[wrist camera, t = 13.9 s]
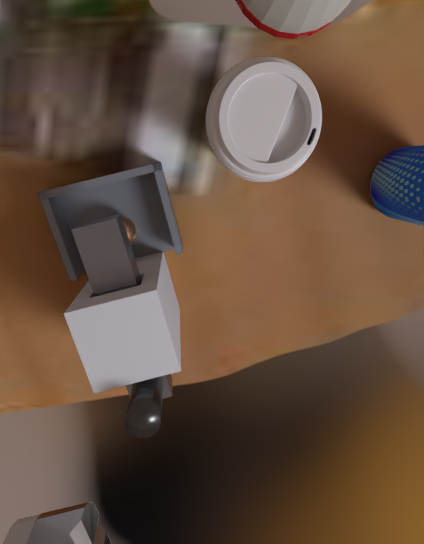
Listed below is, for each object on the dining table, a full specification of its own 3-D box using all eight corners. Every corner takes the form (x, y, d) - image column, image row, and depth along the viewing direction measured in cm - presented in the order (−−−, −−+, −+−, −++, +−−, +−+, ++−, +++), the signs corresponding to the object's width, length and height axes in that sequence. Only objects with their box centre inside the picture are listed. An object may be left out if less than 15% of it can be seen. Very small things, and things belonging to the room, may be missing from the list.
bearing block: (99, 266, 46) (63, 313, 32) (163, 250, 46) (156, 289, 32) (118, 324, 48) (94, 393, 34) (179, 309, 48) (180, 371, 34)
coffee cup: (240, 193, 45) (269, 208, 31) (180, 135, 43) (181, 121, 28) (297, 131, 44) (355, 116, 29) (238, 67, 41) (270, 17, 27)
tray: (49, 189, 43) (37, 192, 39) (160, 162, 43) (159, 162, 39) (79, 271, 46) (70, 281, 42) (182, 245, 46) (183, 252, 42)
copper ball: (95, 238, 40) (108, 260, 43) (132, 229, 40) (142, 252, 43) (93, 211, 42) (106, 234, 45) (128, 203, 42) (139, 226, 45)
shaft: (79, 224, 36) (50, 242, 27) (121, 213, 36) (104, 228, 27) (136, 389, 41) (126, 445, 33) (172, 379, 41) (170, 433, 33)
